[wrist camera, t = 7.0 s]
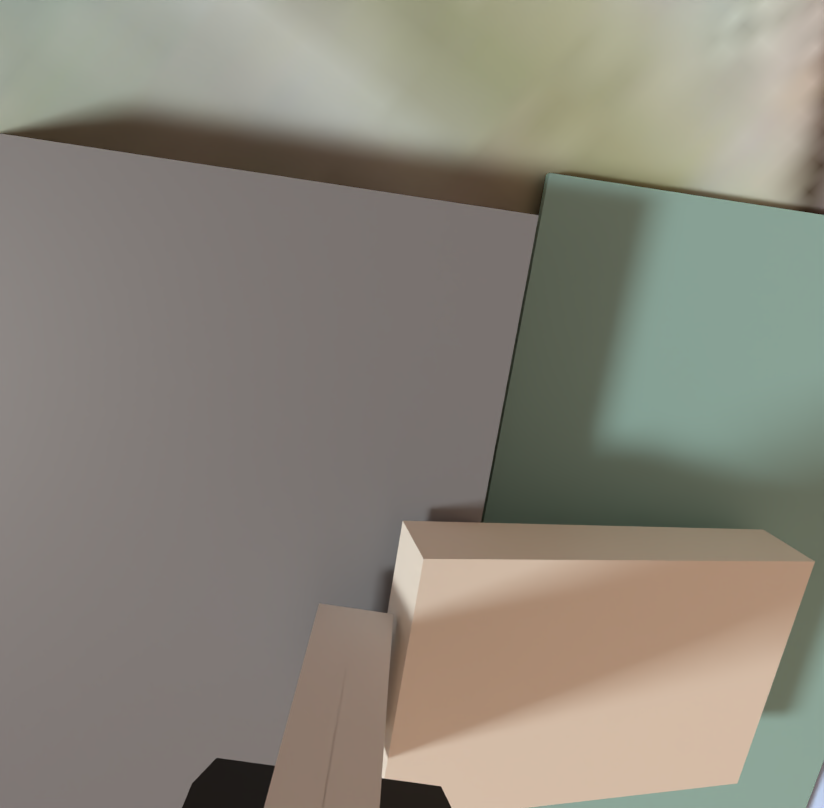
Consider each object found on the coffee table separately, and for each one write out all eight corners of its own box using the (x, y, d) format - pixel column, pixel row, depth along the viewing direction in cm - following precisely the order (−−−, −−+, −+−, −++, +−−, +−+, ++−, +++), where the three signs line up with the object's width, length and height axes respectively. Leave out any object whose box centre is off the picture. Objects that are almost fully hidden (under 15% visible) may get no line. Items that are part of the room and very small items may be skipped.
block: (402, 520, 13) (423, 559, 12) (763, 529, 16) (814, 561, 14) (362, 765, 15) (376, 825, 13) (696, 736, 17) (737, 783, 16)
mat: (545, 174, 15) (549, 172, 14) (1003, 244, 15) (1018, 245, 15) (415, 868, 20) (415, 881, 19) (755, 910, 20) (761, 924, 20)
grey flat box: (-20, 136, 15) (-129, 113, 12) (515, 217, 15) (538, 215, 12) (-4, 789, 19) (-78, 889, 16) (403, 840, 20) (400, 947, 17)
